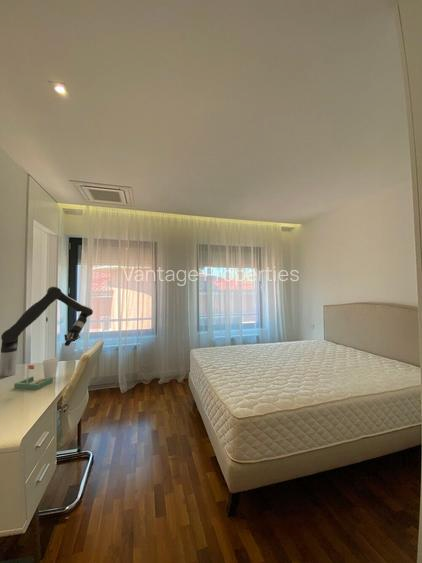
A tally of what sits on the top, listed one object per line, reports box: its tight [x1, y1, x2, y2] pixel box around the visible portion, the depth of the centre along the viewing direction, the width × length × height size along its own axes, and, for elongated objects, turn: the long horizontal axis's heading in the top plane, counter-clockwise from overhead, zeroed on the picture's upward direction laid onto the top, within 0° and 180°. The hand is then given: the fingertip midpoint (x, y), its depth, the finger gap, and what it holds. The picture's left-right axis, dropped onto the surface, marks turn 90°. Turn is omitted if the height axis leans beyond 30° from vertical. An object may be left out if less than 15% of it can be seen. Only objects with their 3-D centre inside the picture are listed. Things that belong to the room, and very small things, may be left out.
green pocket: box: [13, 364, 54, 391], centre depth 153 cm, size 16×13×15 cm
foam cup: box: [42, 357, 60, 380], centre depth 166 cm, size 10×9×13 cm
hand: (66, 345), depth 181 cm, fingers closed
